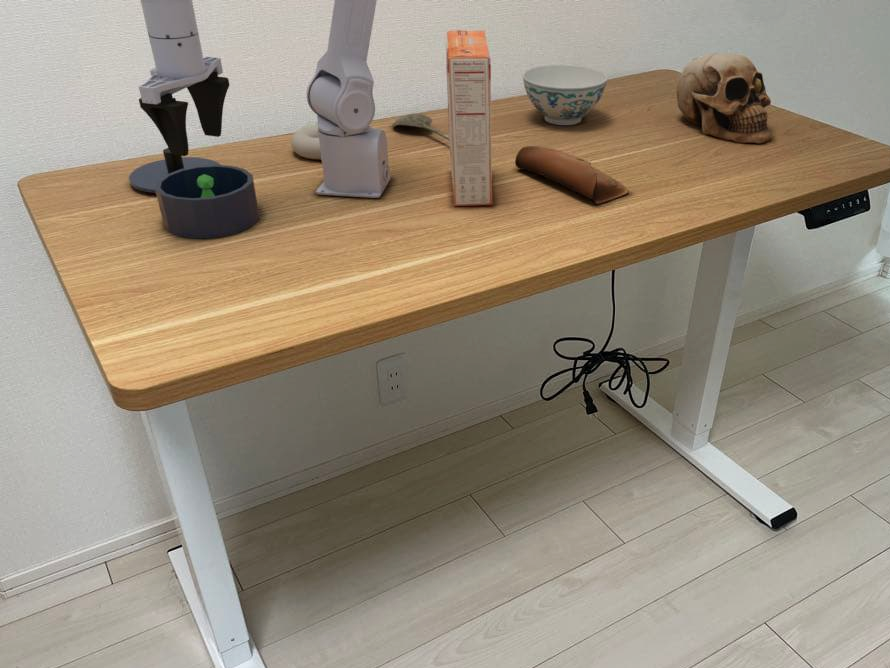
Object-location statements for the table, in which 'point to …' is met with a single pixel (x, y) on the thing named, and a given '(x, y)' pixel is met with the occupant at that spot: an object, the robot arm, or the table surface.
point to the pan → (207, 202)
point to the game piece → (205, 185)
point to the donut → (307, 142)
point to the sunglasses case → (570, 173)
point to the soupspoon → (418, 123)
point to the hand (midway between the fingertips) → (196, 144)
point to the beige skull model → (725, 97)
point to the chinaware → (564, 91)
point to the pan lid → (163, 170)
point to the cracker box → (469, 116)
